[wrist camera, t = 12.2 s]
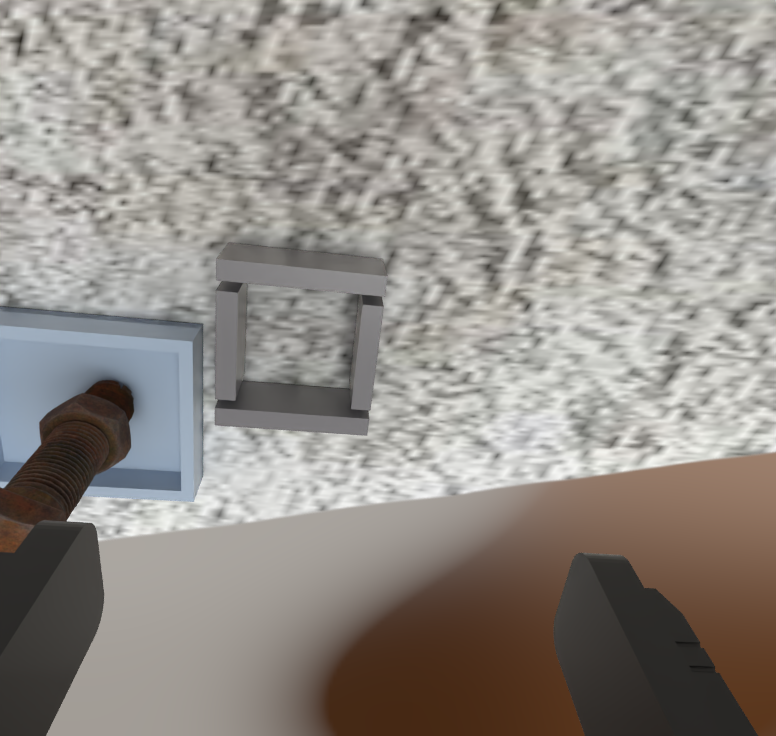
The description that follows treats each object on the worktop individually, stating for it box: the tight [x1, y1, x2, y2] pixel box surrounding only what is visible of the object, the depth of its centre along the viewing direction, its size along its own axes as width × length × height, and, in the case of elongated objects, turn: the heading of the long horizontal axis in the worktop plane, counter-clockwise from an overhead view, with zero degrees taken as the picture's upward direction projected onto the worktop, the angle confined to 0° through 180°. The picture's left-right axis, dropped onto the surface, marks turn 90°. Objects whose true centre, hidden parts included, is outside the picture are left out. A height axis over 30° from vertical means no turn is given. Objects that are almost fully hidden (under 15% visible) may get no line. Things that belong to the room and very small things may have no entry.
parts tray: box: [0, 306, 203, 502], centre depth 38 cm, size 14×12×3 cm
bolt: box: [0, 380, 134, 553], centre depth 32 cm, size 6×5×15 cm
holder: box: [215, 243, 388, 436], centre depth 37 cm, size 9×10×4 cm
